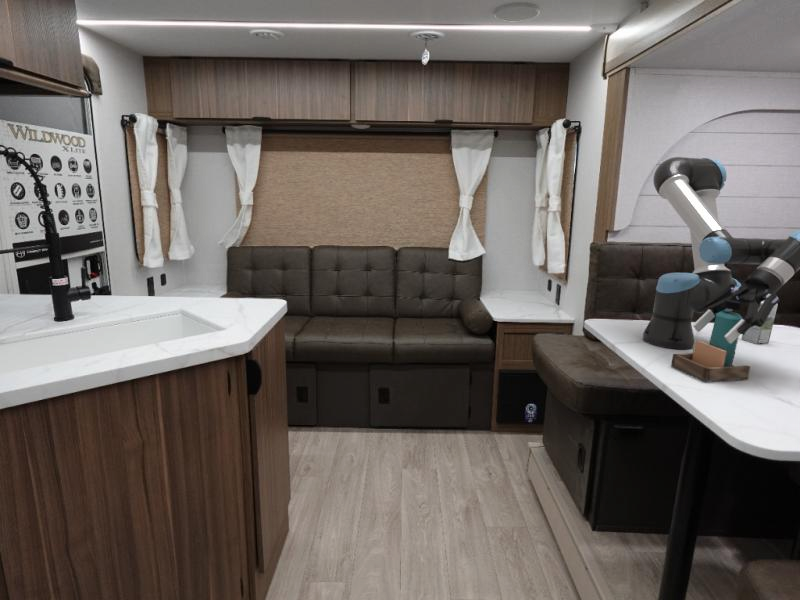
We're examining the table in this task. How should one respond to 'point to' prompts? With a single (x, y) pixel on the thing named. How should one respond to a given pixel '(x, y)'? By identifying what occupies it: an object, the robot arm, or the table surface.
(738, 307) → the beverage bottle
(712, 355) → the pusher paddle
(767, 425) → the table surface
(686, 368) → the wooden tray
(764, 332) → the syrup box
